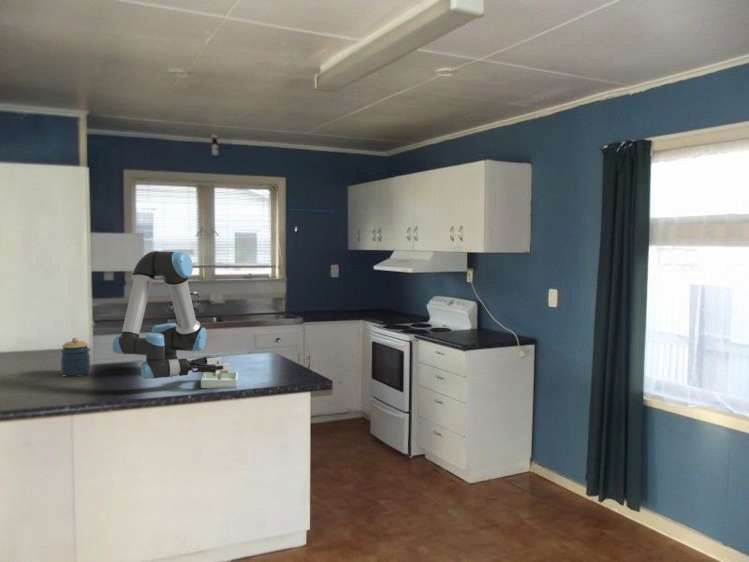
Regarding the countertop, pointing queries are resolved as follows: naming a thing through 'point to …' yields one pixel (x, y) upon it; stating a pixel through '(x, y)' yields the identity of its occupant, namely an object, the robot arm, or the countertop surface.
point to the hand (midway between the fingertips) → (225, 363)
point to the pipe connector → (220, 371)
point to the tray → (212, 381)
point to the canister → (75, 358)
